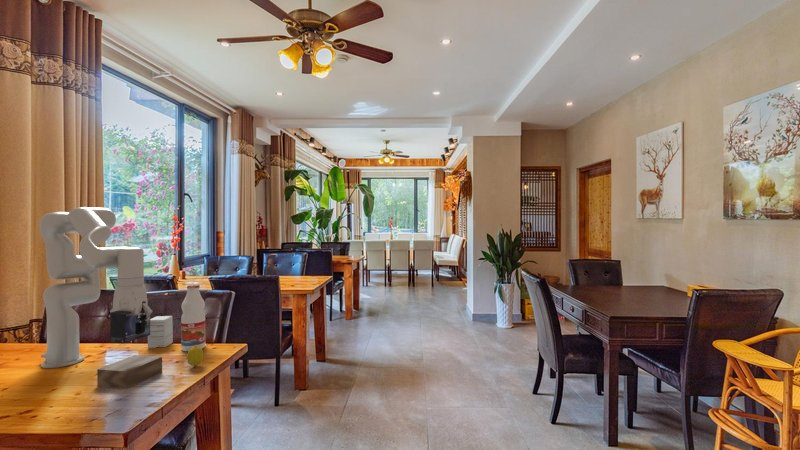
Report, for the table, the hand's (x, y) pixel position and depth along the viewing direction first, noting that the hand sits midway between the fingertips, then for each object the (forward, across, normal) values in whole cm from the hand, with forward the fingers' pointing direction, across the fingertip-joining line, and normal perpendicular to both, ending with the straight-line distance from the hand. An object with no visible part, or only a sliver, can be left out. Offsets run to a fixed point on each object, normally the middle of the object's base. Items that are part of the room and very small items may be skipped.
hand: (131, 332), depth 129 cm
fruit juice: (+17, -1, +33) cm, 37 cm away
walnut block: (+17, 0, 0) cm, 17 cm away
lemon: (+17, +15, +13) cm, 26 cm away
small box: (+2, 0, 0) cm, 2 cm away
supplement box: (+16, -19, +35) cm, 43 cm away
